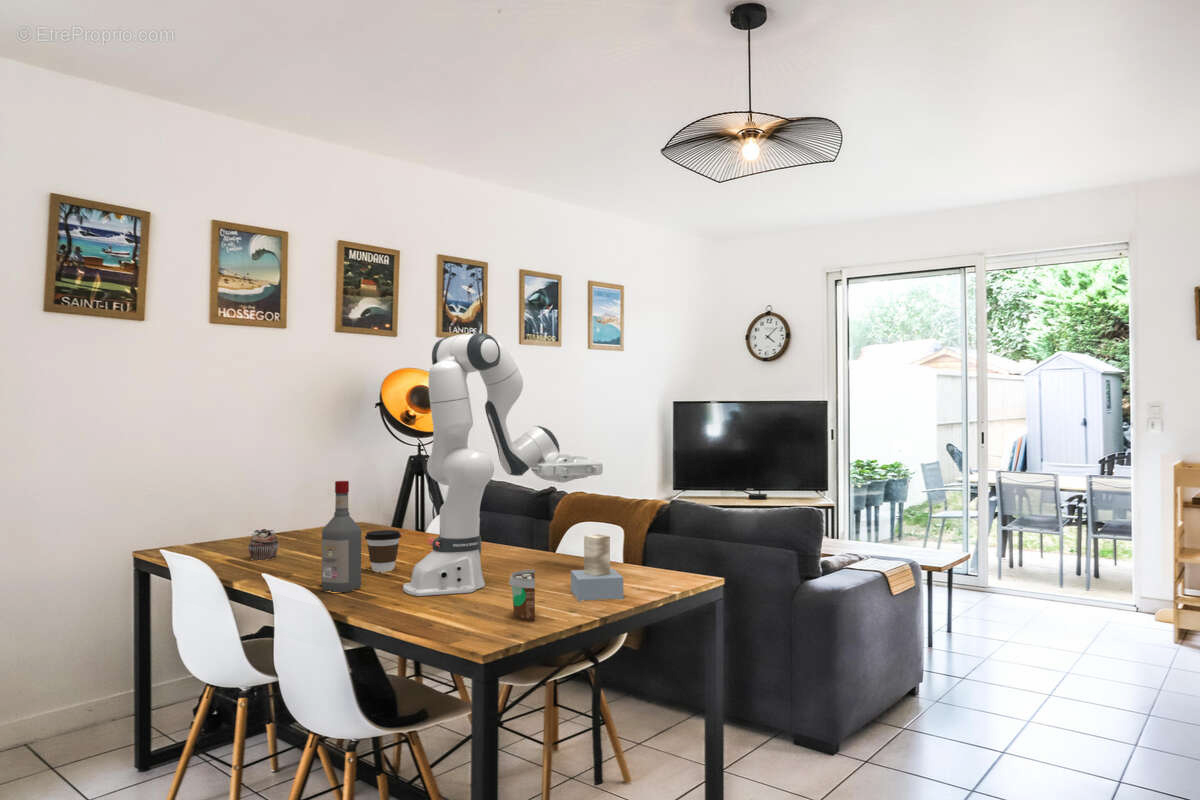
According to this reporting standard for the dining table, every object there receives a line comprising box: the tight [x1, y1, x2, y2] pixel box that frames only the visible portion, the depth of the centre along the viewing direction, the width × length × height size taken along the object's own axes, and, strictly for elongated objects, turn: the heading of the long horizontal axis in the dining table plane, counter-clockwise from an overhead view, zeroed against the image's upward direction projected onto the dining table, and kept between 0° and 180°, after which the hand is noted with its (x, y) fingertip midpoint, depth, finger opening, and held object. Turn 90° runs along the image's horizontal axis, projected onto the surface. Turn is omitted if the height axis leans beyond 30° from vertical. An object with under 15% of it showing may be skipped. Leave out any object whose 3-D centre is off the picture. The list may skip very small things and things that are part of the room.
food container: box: [508, 569, 536, 622], centre depth 187 cm, size 12×6×10 cm, turn 5°
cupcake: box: [247, 528, 279, 560], centre depth 264 cm, size 10×10×10 cm
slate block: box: [570, 568, 624, 602], centre depth 209 cm, size 12×12×6 cm
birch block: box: [583, 534, 611, 576], centre depth 209 cm, size 5×5×10 cm
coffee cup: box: [364, 529, 402, 572], centre depth 242 cm, size 11×11×12 cm
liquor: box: [321, 480, 362, 593], centre depth 216 cm, size 9×9×30 cm
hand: (581, 470), depth 228 cm, fingers open, 8 cm apart
